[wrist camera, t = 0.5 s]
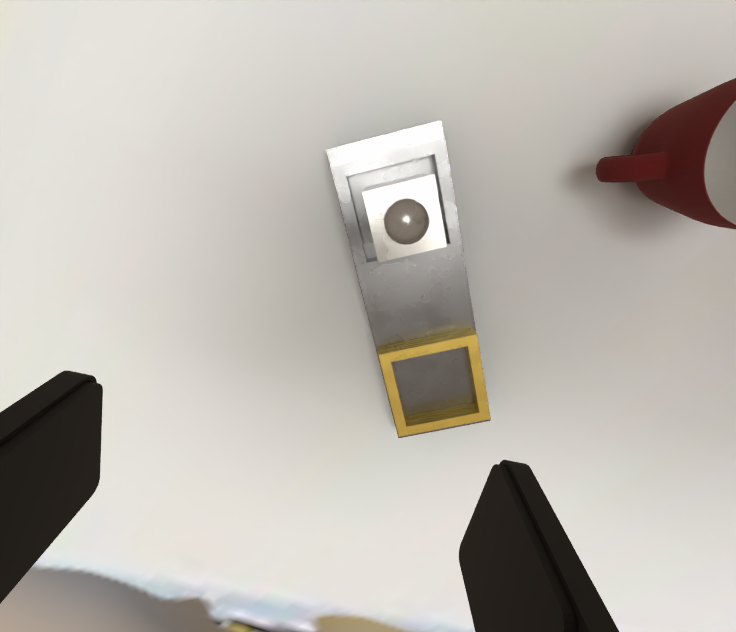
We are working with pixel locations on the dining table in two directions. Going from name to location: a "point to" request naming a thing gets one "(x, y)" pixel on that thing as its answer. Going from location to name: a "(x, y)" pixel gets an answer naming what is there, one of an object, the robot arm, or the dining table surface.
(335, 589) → the dining table surface
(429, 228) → the knobbed metal block
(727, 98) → the mug
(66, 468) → the robot arm
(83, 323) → the dining table surface
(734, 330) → the dining table surface
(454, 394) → the grey flat elongated piece
